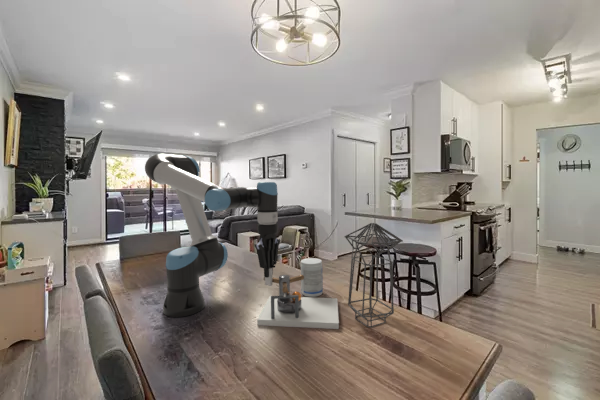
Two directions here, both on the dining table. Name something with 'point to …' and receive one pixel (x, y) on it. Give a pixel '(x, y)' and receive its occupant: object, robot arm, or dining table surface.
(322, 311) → the white base plate
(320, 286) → the supplement tub
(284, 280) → the capstan
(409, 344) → the dining table surface
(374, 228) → the geometric lantern
